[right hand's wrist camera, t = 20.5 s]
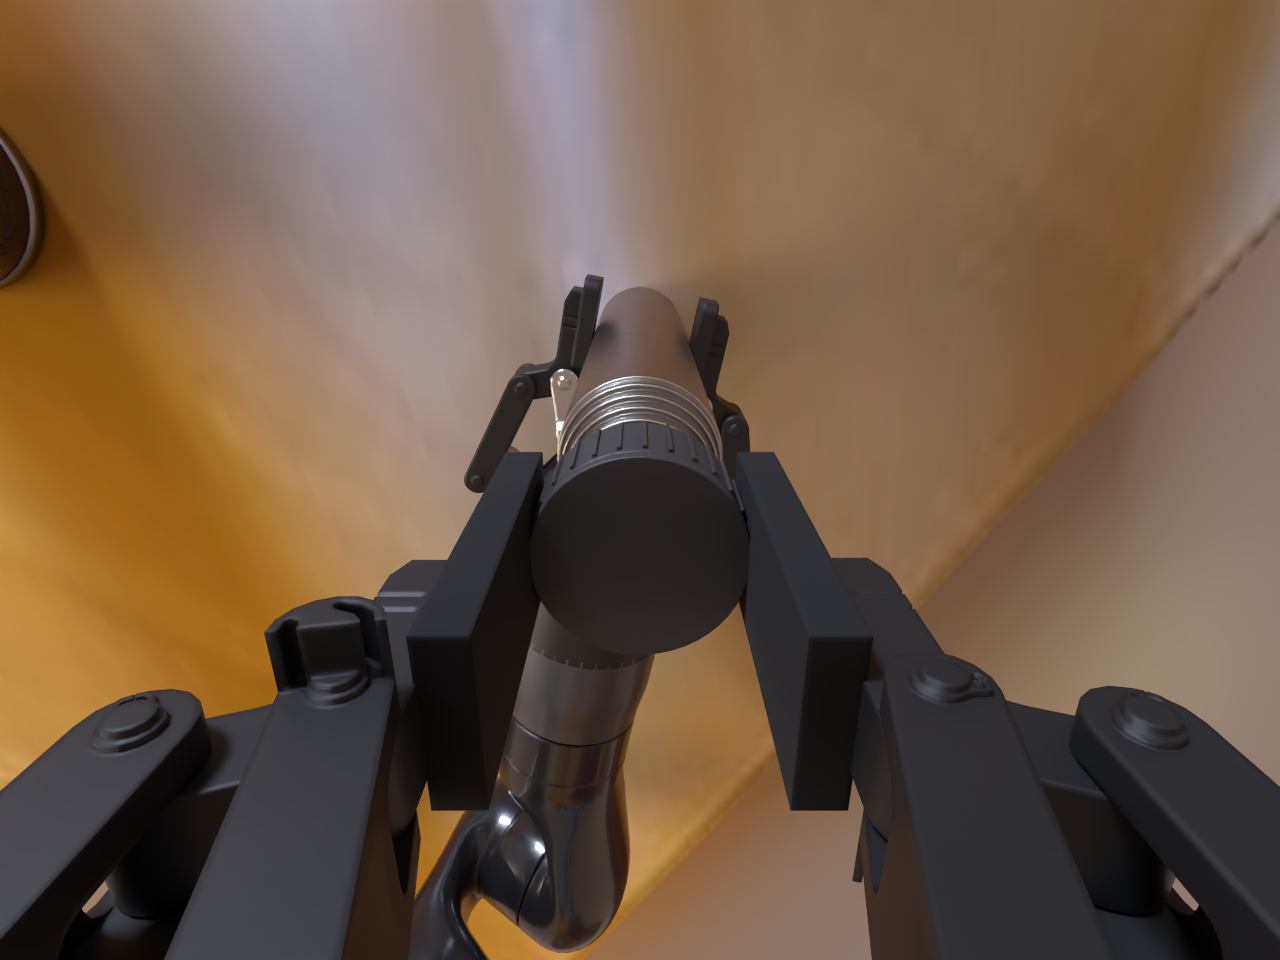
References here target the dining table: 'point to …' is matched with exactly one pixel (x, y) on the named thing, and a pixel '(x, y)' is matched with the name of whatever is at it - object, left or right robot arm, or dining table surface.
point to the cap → (639, 540)
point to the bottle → (639, 374)
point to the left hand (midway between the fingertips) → (651, 291)
